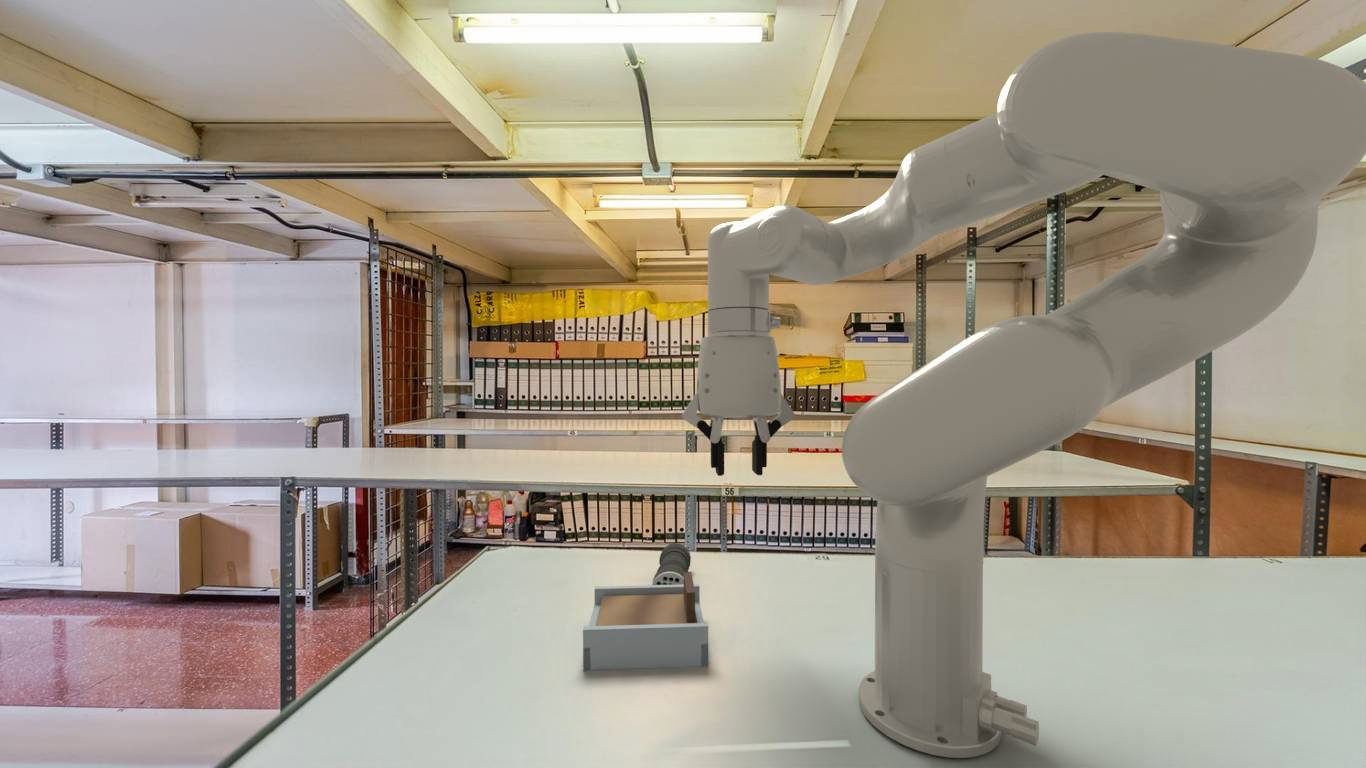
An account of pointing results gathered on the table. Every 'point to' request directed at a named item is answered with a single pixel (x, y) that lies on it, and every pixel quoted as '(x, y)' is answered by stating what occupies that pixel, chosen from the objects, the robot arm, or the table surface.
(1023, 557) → the table surface
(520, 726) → the table surface
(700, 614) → the light grey open box
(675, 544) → the flashlight
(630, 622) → the cover plate
